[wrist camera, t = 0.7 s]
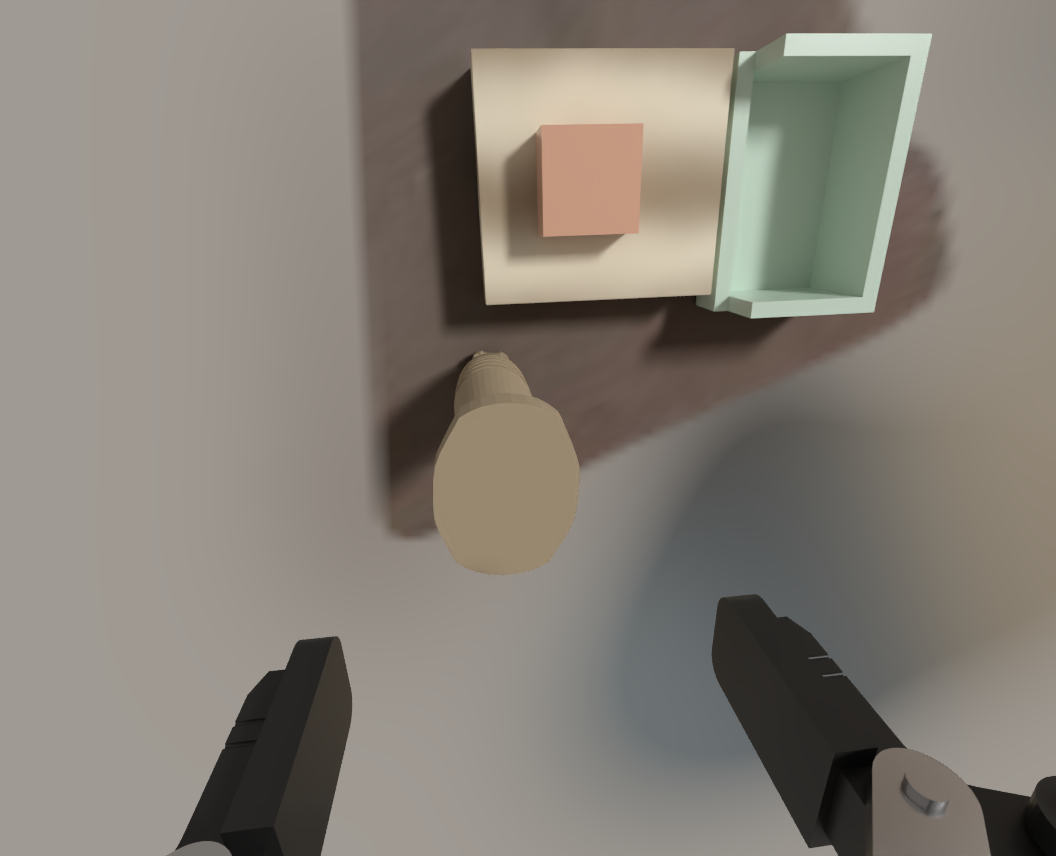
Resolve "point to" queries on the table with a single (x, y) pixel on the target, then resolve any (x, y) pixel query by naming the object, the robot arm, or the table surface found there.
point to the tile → (588, 179)
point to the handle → (503, 472)
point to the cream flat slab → (666, 177)
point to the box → (813, 172)
